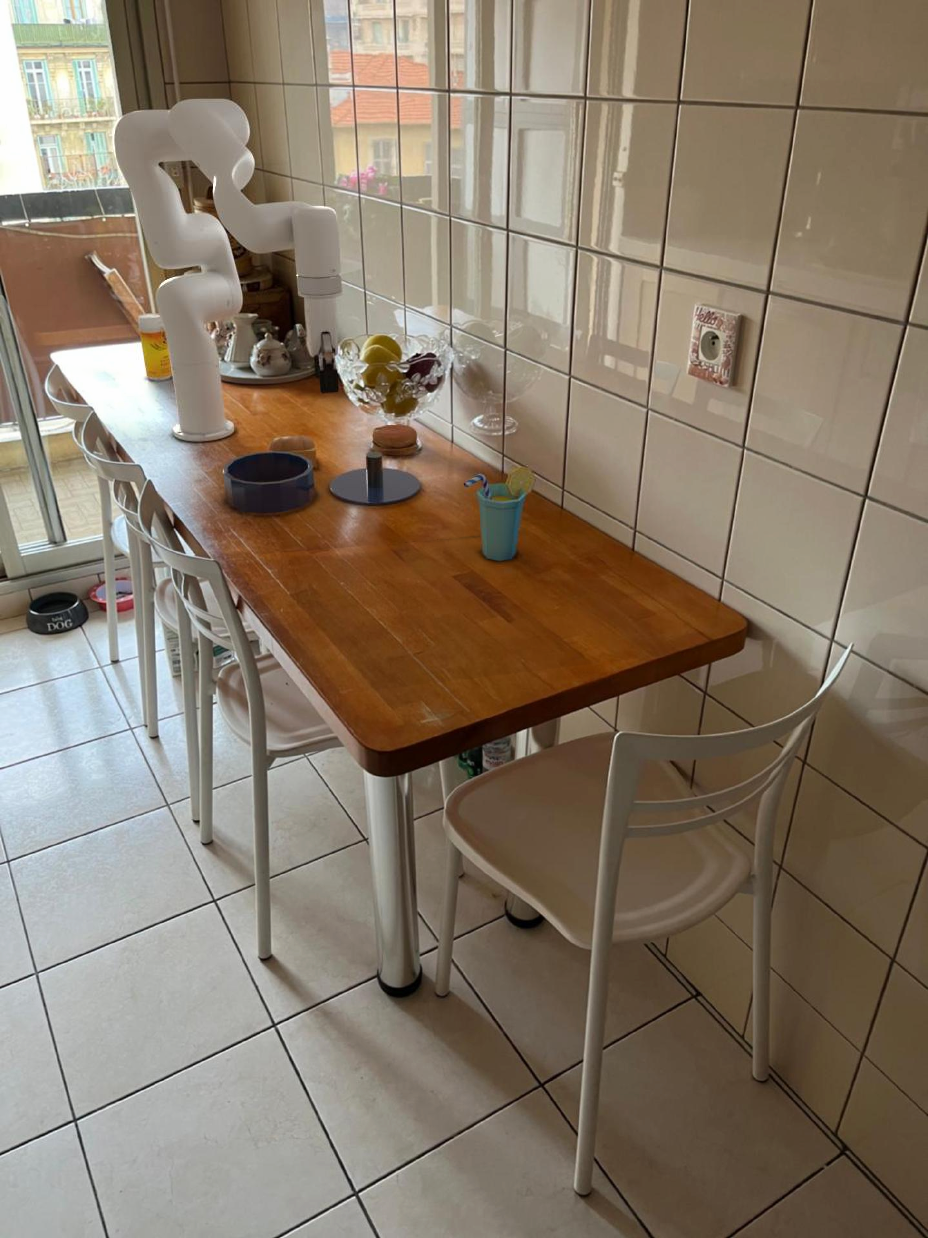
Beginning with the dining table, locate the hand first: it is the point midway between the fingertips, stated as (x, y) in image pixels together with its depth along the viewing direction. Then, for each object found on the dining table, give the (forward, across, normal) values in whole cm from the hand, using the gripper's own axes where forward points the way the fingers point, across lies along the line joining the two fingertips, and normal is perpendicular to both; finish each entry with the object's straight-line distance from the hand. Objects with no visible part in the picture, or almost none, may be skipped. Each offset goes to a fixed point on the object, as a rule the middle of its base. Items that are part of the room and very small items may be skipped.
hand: (326, 384), depth 166 cm
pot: (+18, +7, -12) cm, 23 cm away
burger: (+18, -13, +14) cm, 26 cm away
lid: (+18, +7, +7) cm, 20 cm away
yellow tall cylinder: (+17, -74, -35) cm, 83 cm away
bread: (+18, -8, -7) cm, 21 cm away
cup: (+19, +37, +22) cm, 47 cm away
